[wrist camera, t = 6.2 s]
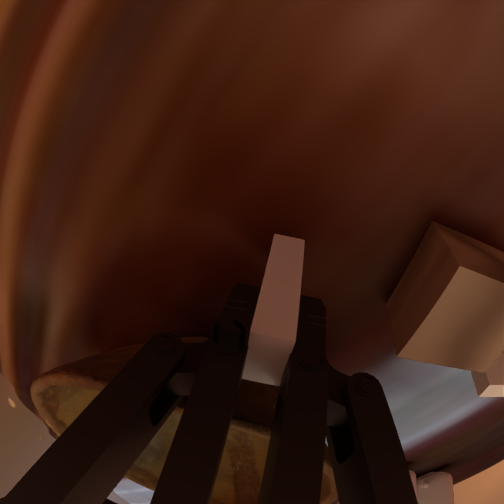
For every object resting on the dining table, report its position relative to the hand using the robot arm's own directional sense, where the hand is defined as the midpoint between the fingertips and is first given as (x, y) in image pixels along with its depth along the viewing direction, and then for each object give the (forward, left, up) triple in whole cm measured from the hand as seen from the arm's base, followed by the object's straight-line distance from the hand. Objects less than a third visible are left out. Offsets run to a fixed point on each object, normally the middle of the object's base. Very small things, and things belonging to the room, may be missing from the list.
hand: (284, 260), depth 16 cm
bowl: (-4, -14, -2) cm, 14 cm away
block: (+11, 0, -2) cm, 11 cm away
